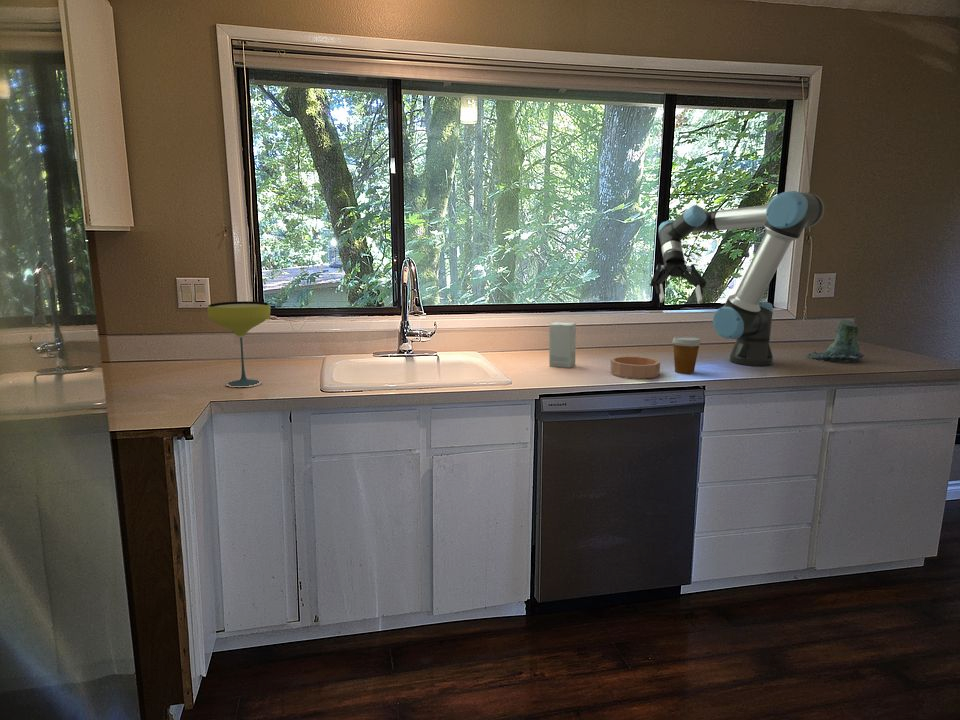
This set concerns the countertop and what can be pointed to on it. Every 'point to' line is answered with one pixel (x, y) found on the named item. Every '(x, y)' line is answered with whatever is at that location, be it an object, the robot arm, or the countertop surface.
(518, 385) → the countertop surface
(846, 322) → the tree stump
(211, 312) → the cocktail glass
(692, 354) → the disposable coffee cup
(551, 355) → the skincare box
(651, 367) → the terracotta dish
